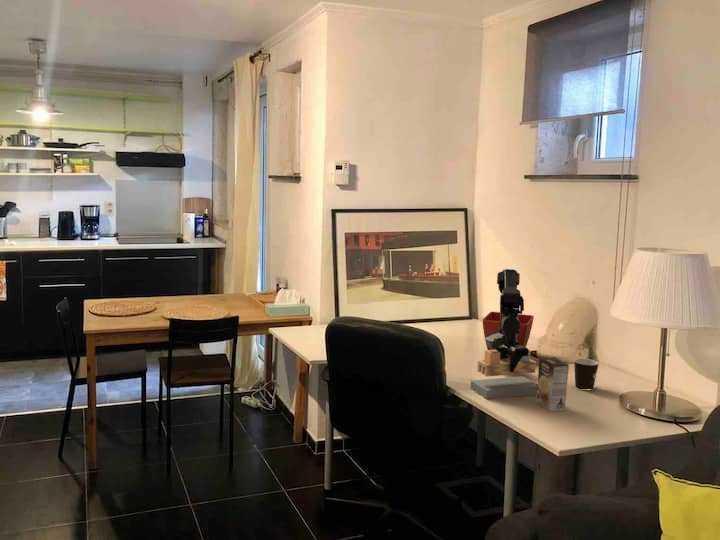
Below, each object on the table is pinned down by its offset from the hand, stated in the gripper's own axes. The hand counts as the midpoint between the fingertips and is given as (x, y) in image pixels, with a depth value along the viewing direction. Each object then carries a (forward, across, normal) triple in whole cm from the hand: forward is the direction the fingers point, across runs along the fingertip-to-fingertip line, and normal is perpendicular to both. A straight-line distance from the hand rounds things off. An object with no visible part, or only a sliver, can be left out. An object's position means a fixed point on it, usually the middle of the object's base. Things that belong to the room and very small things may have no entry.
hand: (506, 368), depth 247 cm
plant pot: (+9, -44, +26) cm, 52 cm away
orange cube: (-3, 0, -6) cm, 7 cm away
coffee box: (+8, +18, +7) cm, 21 cm away
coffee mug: (+9, +3, +33) cm, 34 cm away
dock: (+8, 0, 0) cm, 8 cm away
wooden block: (+1, 0, 0) cm, 1 cm away
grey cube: (-3, 0, +6) cm, 7 cm away
